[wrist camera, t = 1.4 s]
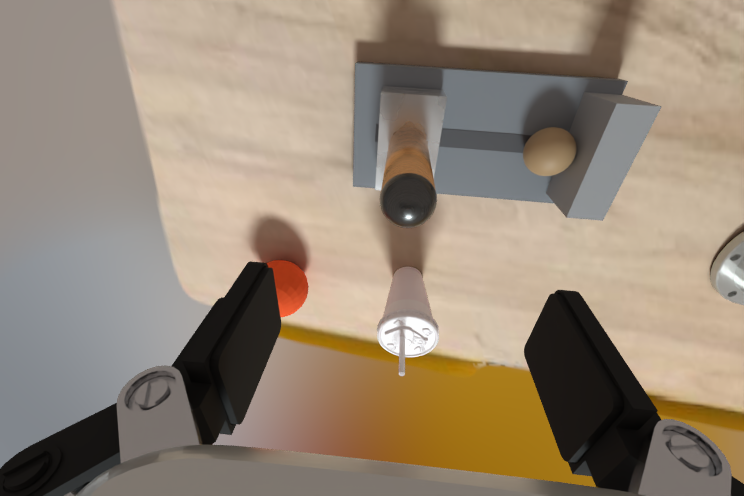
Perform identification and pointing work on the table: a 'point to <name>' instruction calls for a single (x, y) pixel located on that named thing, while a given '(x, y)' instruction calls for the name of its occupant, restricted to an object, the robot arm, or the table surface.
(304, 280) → the clementine
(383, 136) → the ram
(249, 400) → the robot arm
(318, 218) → the table surface
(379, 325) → the smoothie
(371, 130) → the frame
